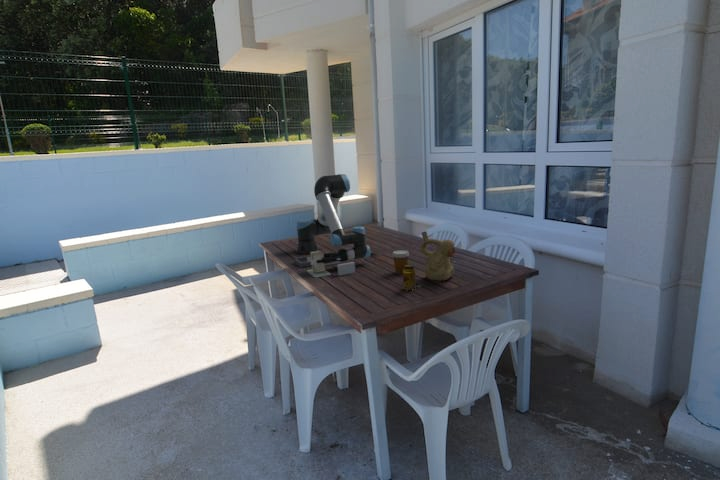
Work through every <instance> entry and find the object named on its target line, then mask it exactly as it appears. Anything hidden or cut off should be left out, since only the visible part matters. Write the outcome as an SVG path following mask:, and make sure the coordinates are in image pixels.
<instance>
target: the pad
mask: <svg viewBox="0 0 720 480" xmlns="http://www.w3.org/2000/svg"><path fill="white" fill-rule="evenodd" d="M305 272H307V273H308V274H310V275H311V276H312V277H313V278H319V277H325V276H330V275H331V276H332V274H331V273H330V272H329V271H328V270H326V269H325V271H321V272H314V271H313V270H312V268H311V269H306V270H305Z"/></svg>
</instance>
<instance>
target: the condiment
mask: <svg viewBox="0 0 720 480" xmlns="http://www.w3.org/2000/svg"><path fill="white" fill-rule="evenodd" d="M402 277H403V287H404V289H406V290H405V291H408V290H412V291H411V292H414V291H416V290H417V289H420V288H421V287H422V286H421V285H416V271H415V265H413V264H408V265H404V271H403V274H402ZM415 287H416V288H415ZM414 289H415V290H414ZM413 290H414V291H413Z"/></svg>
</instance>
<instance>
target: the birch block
mask: <svg viewBox="0 0 720 480" xmlns="http://www.w3.org/2000/svg"><path fill="white" fill-rule="evenodd" d="M310 253H311V254H310V256H311V260H314V259H320V258H322V257H323V258H324V254H325V253H324V251H321V250H318V251H314V252H310ZM311 269H312V270H313V271H314V272H321V271H325V270H326V267H325V265H324V263H319V264H313V265H312V266H311Z"/></svg>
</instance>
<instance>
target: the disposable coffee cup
mask: <svg viewBox="0 0 720 480" xmlns="http://www.w3.org/2000/svg"><path fill="white" fill-rule="evenodd" d="M409 256H410V252H409V251H408V250H404V249H400V250H394V251H393V252H392V258H393V263H394V271H395V273H396V274H397V275H403V271H404V265H409V264H408V263H409Z"/></svg>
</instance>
